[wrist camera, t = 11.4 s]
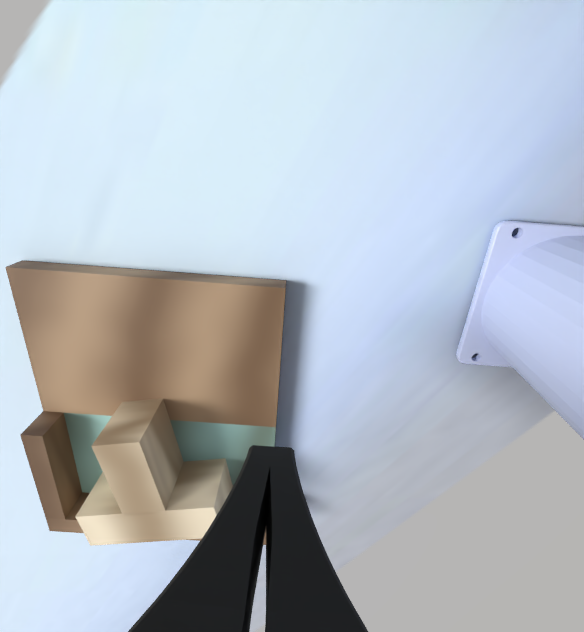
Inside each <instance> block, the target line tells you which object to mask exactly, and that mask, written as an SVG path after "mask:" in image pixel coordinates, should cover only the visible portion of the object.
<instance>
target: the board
mask: <svg viewBox="0 0 584 632" xmlns="http://www.w3.org/2000/svg"><path fill="white" fill-rule="evenodd" d="M6 271H7V275H8V278H9V282H10V286H11V290H12V294H13V297H14V301H15V305H16V309H17V313H18V316H19V320H20V324H21V328H22V331H23V335H24V339H25V343H26V347H27V350H28V354H29V358H30V362H31V366H32V369H33V373H34V377H35V381H36V385H37V388H38V392H39V396H40V400H41V404H42V407H43V412H42V413H41V414H40V415H39V416H38V417H37V418H36V419H35V420H34V421H33V423H32V424H31V425H30V426H29V427H28V428H27V429H26V430H25V431H24V432H23V433H22V434H21V439H22V442H23V445H24V448H25V452H26V455H27V458H28V461H29V465H30V468H31V471H32V474H33V478H34V481H35V484H36V487H37V491H38V494H39V497H40V500H41V504H42V507H43V510H44V513H45V517H46V520H47V523H48V526H49V530H50V531H60V532H75V533H84V532H83V530H82V528H81V527H80V525H79V523H78V521H77V519H76V515H77V513H78V512H79V510H80V508H81V507H82V505H83V503H84V502H85V500H86V498H87V497H88V495H89V494H90V492H91V490H92V489H93V487H94V485H95V484H96V482H97V480H98V479H99V477H100V475H101V474H102V472H103V471H102V469H101V466H100V464H99V462H98V460H97V458H96V455H95V453H94V451H93V449H92V447H91V446H92V444H93V443H94V441H95V440H96V439H97V437H98V436H99V434H100V433H101V431H102V430H103V429H104V427H105V426H106V424H107V423H108V421H109V420H110V419H111V417H112V416H113V414H114V413H115V411H116V410H117V409H118V407H119V406H120V404H121V403H122V402H130V401H141V400H153V399H163V400H164V403H165V406H166V409H167V412H168V415H169V419H170V422H171V425H172V428H173V431H174V434H175V437H176V440H177V443H178V446H179V449H180V452H181V455H182V458H183V461H184V462H185V461H198V460H211V459H224V458H226V462H227V466H228V470H229V474H230V477H231V481H232V485H234V484H235V482H236V480H237V477H238V475H239V473H240V471H241V469H242V467H243V464H244V462H245V459H246V457H247V454H248V450H249V448H250V447H251V446H253V445H258V446H272V447H275V434H276V420H277V406H278V391H279V377H280V363H281V349H282V335H283V320H284V306H285V292H286V280H274V279H260V278H247V277H234V276H221V275H207V274H194V273H181V272H167V271H154V270H141V269H128V268H114V267H101V266H88V265H75V264H61V263H48V262H35V261H20V262H17V263H15V264H12V265H10V266H7V267H6ZM201 539H202V538H201ZM201 539H185V540H200V541H201ZM263 545H266V530H265V536H264V542H263Z"/></svg>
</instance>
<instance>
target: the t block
mask: <svg viewBox="0 0 584 632" xmlns="http://www.w3.org/2000/svg"><path fill="white" fill-rule="evenodd" d="M91 447H92V449H93V451H94V453H95V455H96V458H97V460H98V462H99V464H100V466H101V469H102V471H103V472H102V474H101V475H100V477H99V479H98V480H97V482H96V484H95V485H94V487H93V489H92V490H91V492H90V494H89V495H88V497H87V498H86V500H85V502H84V503H83V505H82V507H81V508H80V510H79V512H78V513H77V515H76V519H77V521H78V523H79V525H80V527H81V528H82V530H83V532H84V534H85V536H86V538H87V540H88V542H89V543H90V545H106V544H122V543H137V542H153V541H169V540H185V539H201V538H203V536H204V535H205V533H206V532H207V530H208V529H209V527H210V525H211V524H212V522H213V520H214V519H215V517H216V516H217V514H218V512H219V511H220V509H221V507H222V506H223V504H224V502H225V500H226V499H227V497H228V495H229V493H230V491H231V489H232V487H233V485H232V481H231V477H230V474H229V470H228V466H227V462H226V458H224V459H211V460H198V461H185V462H184V461H183V458H182V455H181V452H180V449H179V446H178V443H177V440H176V437H175V434H174V431H173V428H172V425H171V422H170V419H169V415H168V412H167V409H166V406H165V403H164V400H163V399H153V400H141V401H130V402H122V403H121V404H120V406H119V407H118V409H117V410H116V411H115V413H114V414H113V416H112V417H111V419H110V420H109V421H108V423H107V424H106V426H105V427H104V429H103V430H102V431H101V433H100V434H99V436H98V437H97V439H96V440H95V441H94V443H93V444H92V446H91Z"/></svg>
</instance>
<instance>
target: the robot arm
mask: <svg viewBox="0 0 584 632" xmlns="http://www.w3.org/2000/svg"><path fill="white" fill-rule="evenodd" d="M516 228H518V229H519V230H518V233H517V235H515V236H513V237H512V232H513V230H514V229H516ZM476 353H478V355H477V356H476V357H474V358H472V356H473V355H474V354H476ZM456 357H457V359H458V360H459V361H460V362H461V363H464V364H474V365H488V366H502V367H513V368H514V369H515V370H516V371H517V372H518V373H519V374H520V375H521V376H522V377H523V378H524V379H525V380H526V381H527V382H528V383H529V384H530V385H531V386H532V387H533V388H534V389H535V390H536V391H537V392H538V394H539V395H540V396H541V397H542V398H543V399H544V400H545V401H546V402H547V403H548V404H549V405H550V406H551V407H552V408H553V409H554V410H555V411H556V412H557V413H558V414H559V415H560V416H561V417H562V418H563V419H564V420H565V421H566V422H567V423H568V424H569V425H570V426H571V427H572V428H573V429H574V430H575V431H576V432H577V433H578V434H579V435H580V436H581V437H582V438H583V439H584V227H583V226H570V225H557V224H545V223H532V222H519V221H502V222H500V223H498V224H497V225H496V226H495V228H494V230H493V233H492V237H491V240H490V243H489V247H488V250H487V253H486V256H485V260H484V263H483V266H482V270H481V273H480V276H479V280H478V283H477V286H476V290H475V293H474V296H473V300H472V303H471V306H470V309H469V313H468V316H467V319H466V323H465V326H464V329H463V333H462V336H461V339H460V343H459V346H458V349H457V353H456ZM265 530H266V627H265V632H368V631H367V629H366V627H365V625H364V624H363V622H362V620H361V618H360V617H359V615H358V613H357V612H356V610H355V608H354V606H353V604H352V603H351V601H350V599H349V598H348V596H347V594H346V592H345V590H344V588H343V586H342V584H341V582H340V580H339V578H338V576H337V575H336V572H335V570H334V568H333V566H332V564H331V562H330V560H329V558H328V556H327V553H326V551H325V549H324V547H323V544H322V542H321V540H320V537H319V535H318V532H317V530H316V527H315V525H314V522H313V520H312V517H311V514H310V511H309V508H308V505H307V502H306V500H305V497H304V494H303V490H302V487H301V483H300V479H299V476H298V471H297V467H296V462H295V454H294V450H293V449H292V448H287V447H272V446H258V445H253V446H251V447H250V448H249V450H248V454H247V457H246V459H245V462H244V464H243V467H242V469H241V471H240V473H239V475H238V477H237V480H236V482H235V484H234V485H233V487H232V489H231V491H230V493H229V495H228V497H227V499H226V500H225V502H224V504H223V506H222V507H221V509H220V511H219V512H218V514H217V516H216V517H215V519H214V520H213V522H212V524H211V525H210V527H209V529H208V530H207V532H206V533H205V535H204V536H203V538H202V539H201V541H200V542H199V544H198V545H197V547H196V548H195V549H194V551H193V552H192V554H191V555H190V556H189V558H188V559H187V561H186V562H185V563H184V565H183V566H182V567H181V569H180V570H179V571H178V572H177V574H176V575H175V576H174V578H173V579H172V580H171V582H170V583H169V584H168V585H167V587H166V588H165V589H164V590H163V592H162V593H161V594H160V595H159V597H158V598H157V599H156V600H155V601H154V602H153V604H152V605H151V606H150V607H149V608H148V609H147V610H146V612H145V613H144V614H143V615H142V616H141V617H140V619H139V620H138V621H137V622H136V623H135V624H134V625H133V627H132V628H131V629H130V630H129V631H128V632H249V629H250V620H251V613H252V606H253V600H254V594H255V588H256V582H257V577H258V571H259V565H260V559H261V553H262V547H263V542H264V536H265Z"/></svg>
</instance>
